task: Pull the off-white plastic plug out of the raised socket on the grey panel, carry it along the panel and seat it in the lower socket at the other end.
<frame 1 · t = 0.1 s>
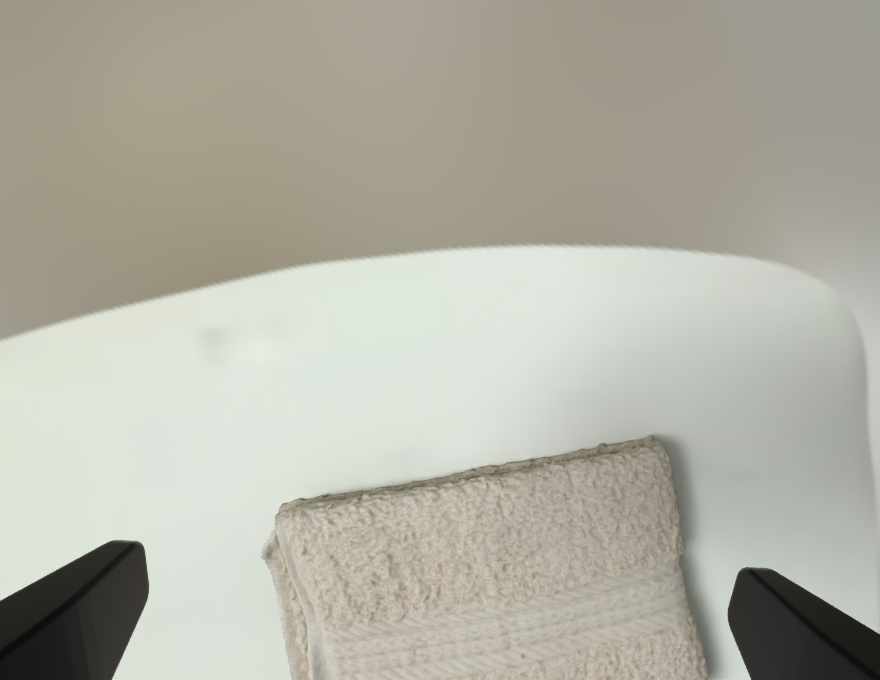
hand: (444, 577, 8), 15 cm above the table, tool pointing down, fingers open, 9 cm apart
washcloth: (484, 583, 25), on the table
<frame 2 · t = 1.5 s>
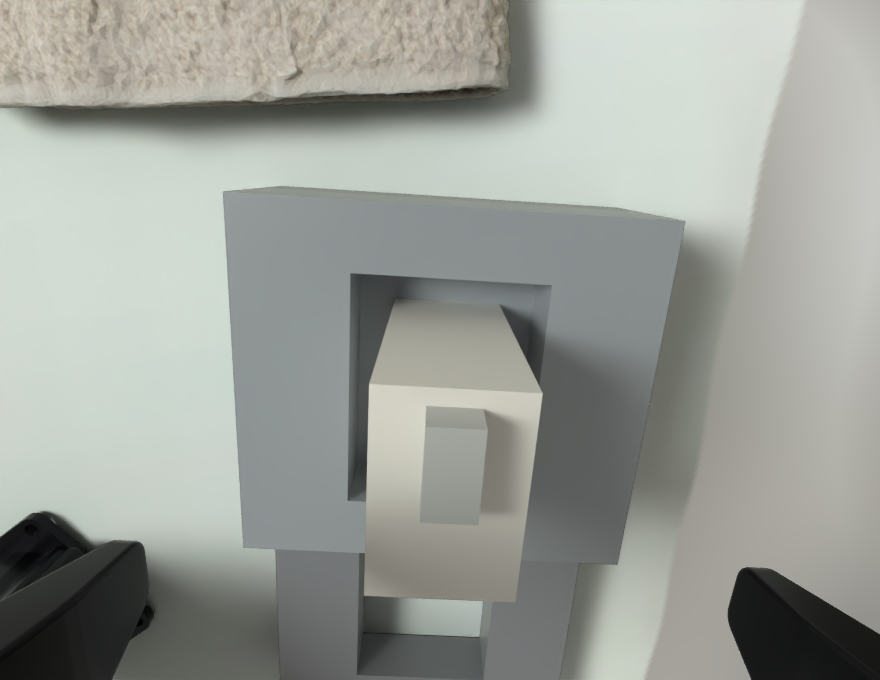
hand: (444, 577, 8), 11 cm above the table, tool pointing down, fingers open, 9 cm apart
socket panel: (432, 466, 20), on the table
plug: (442, 373, 16), point 3 cm above the table, touching socket panel
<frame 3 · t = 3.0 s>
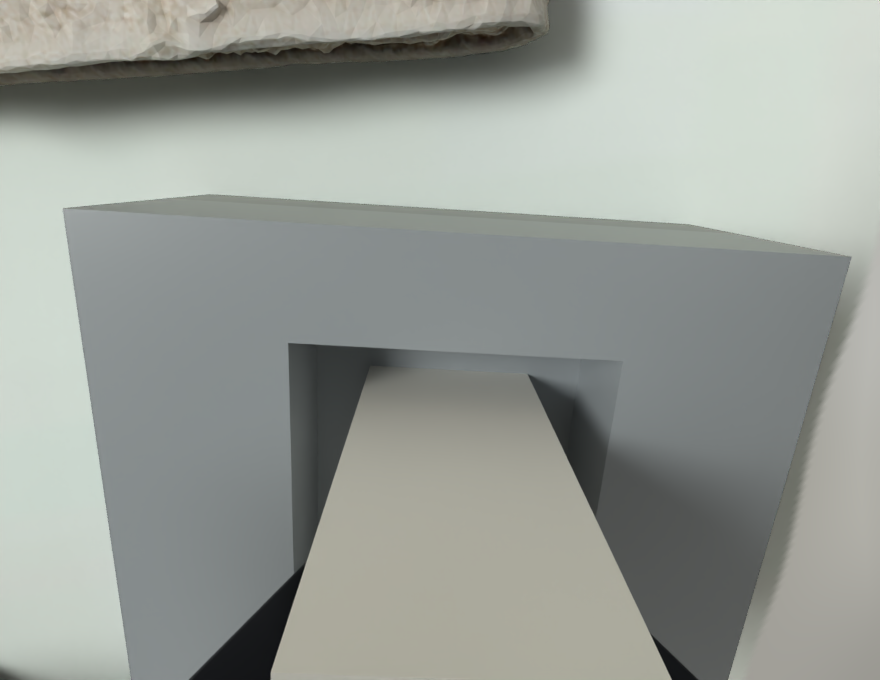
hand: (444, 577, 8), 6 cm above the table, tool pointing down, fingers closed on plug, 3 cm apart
socket panel: (428, 569, 15), on the table
plug: (441, 473, 11), point 3 cm above the table, touching gripper, socket panel
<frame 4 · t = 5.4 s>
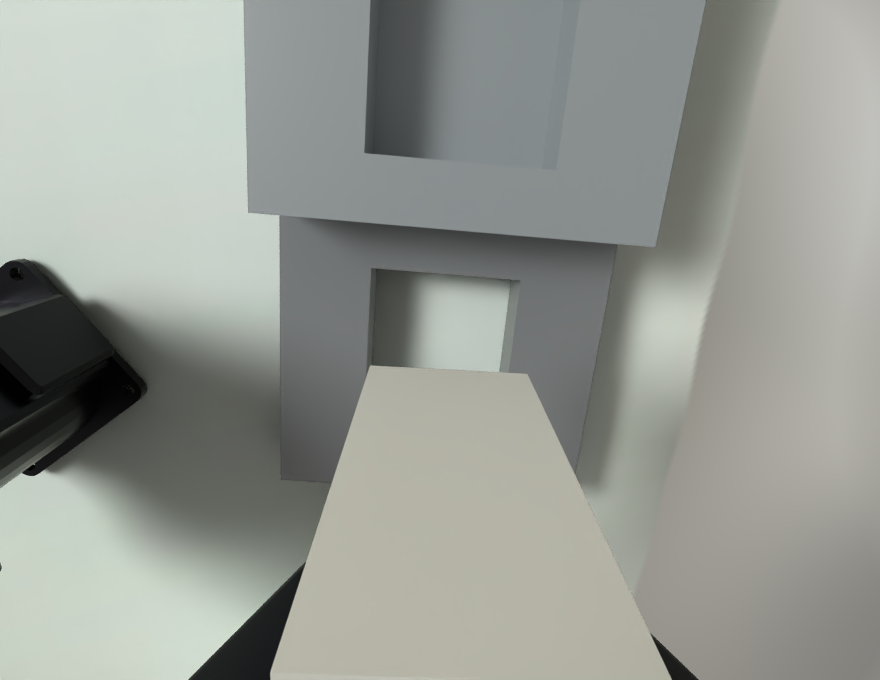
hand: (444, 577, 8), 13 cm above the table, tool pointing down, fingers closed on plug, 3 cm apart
socket panel: (449, 215, 19), on the table
plug: (441, 473, 11), point 10 cm above the table, touching gripper
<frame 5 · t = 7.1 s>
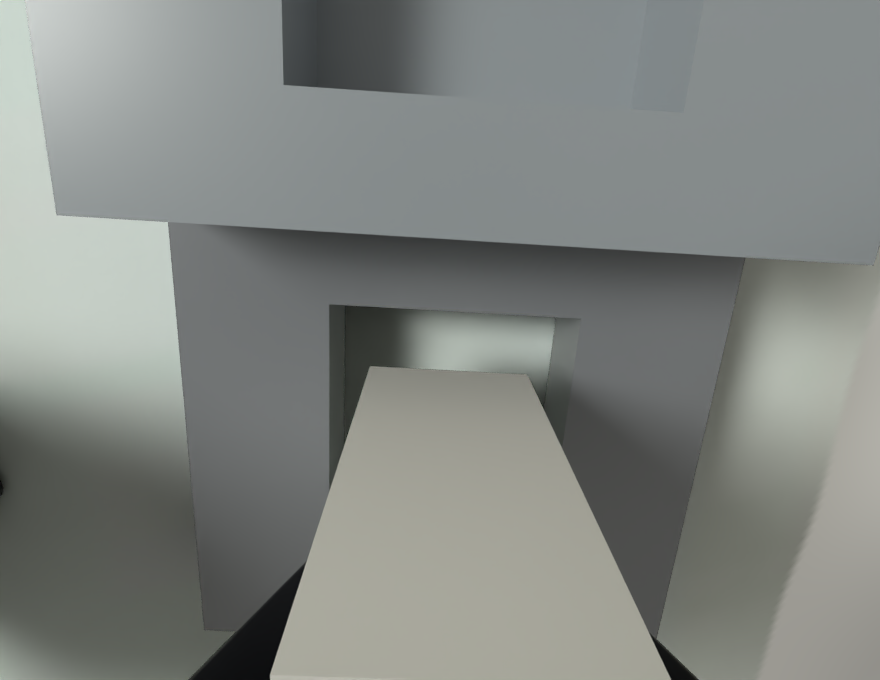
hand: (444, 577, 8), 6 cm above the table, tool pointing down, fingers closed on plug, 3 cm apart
socket panel: (458, 213, 12), on the table
plug: (441, 474, 11), point 3 cm above the table, touching gripper
when the fingers open (4 cm above the table, at t = 8.3 s): plug stays where it is, resting in socket panel.
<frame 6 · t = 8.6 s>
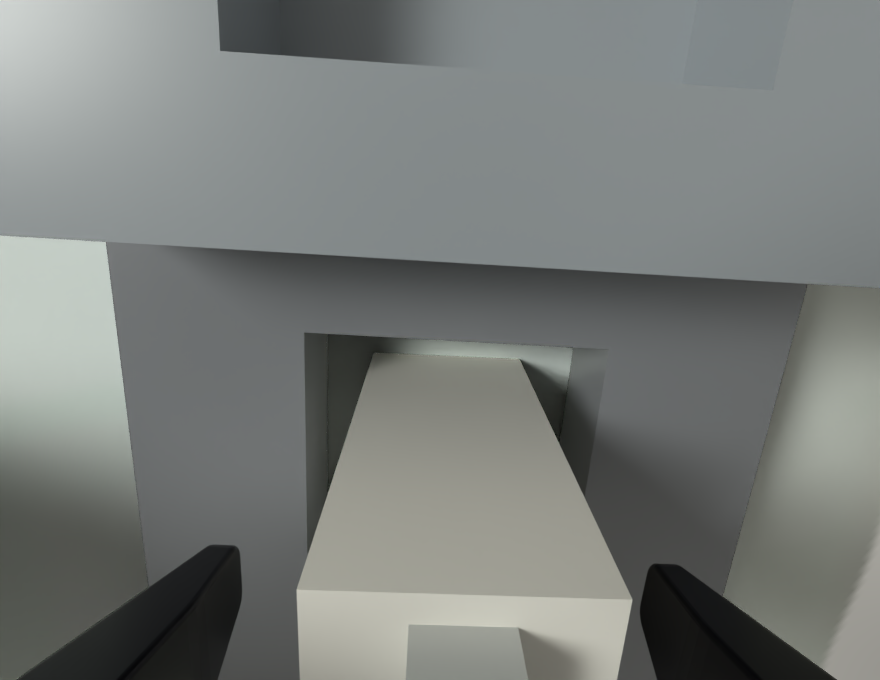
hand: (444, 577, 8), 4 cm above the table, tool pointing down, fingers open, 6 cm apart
socket panel: (459, 221, 10), on the table
plug: (441, 453, 12), resting in socket panel
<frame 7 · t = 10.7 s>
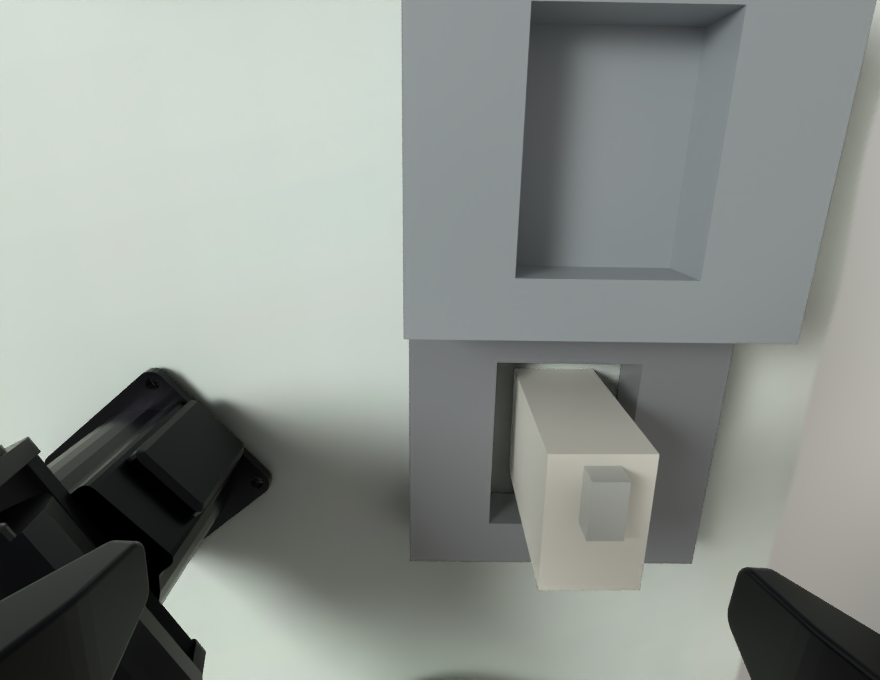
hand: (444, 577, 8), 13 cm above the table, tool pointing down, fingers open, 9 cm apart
socket panel: (561, 300, 20), on the table
plug: (549, 421, 21), resting in socket panel
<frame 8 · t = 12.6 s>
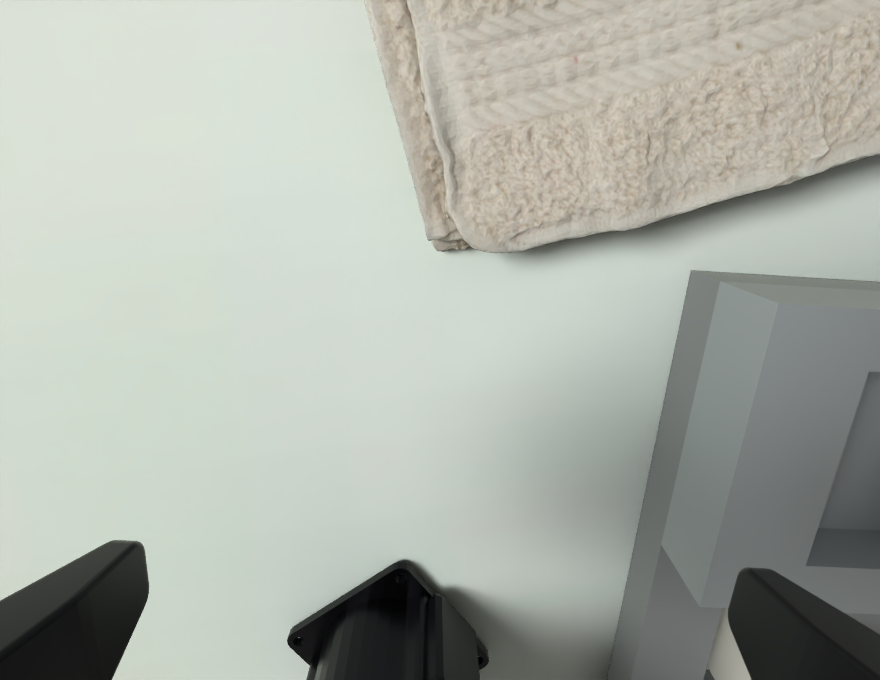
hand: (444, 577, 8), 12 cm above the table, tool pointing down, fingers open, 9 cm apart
socket panel: (772, 518, 22), on the table
plug: (742, 613, 24), resting in socket panel
washcloth: (652, 14, 17), on the table
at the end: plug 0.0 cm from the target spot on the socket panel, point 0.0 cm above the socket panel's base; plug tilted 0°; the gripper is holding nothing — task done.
